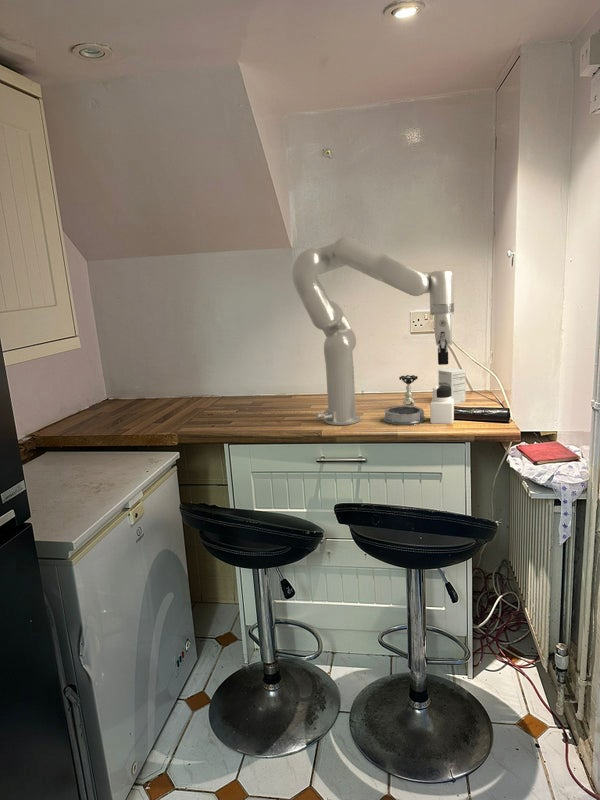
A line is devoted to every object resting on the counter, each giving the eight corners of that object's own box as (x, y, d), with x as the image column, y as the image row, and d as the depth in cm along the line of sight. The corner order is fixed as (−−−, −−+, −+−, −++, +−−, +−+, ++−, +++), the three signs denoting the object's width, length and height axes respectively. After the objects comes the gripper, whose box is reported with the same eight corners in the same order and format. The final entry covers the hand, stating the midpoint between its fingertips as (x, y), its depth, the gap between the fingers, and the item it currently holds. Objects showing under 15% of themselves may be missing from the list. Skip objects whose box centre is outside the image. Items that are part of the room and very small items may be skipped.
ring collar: (400, 427, 188) (399, 417, 188) (375, 419, 201) (375, 409, 200) (433, 420, 194) (433, 410, 194) (408, 413, 207) (407, 403, 206)
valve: (417, 405, 217) (416, 374, 214) (418, 410, 211) (418, 377, 208) (399, 406, 218) (398, 375, 215) (400, 410, 211) (399, 378, 209)
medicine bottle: (453, 418, 196) (453, 384, 193) (452, 424, 189) (452, 388, 187) (432, 418, 198) (432, 384, 195) (430, 423, 191) (430, 388, 189)
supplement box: (437, 402, 221) (437, 369, 218) (452, 399, 224) (452, 367, 221) (451, 405, 214) (451, 372, 212) (466, 402, 218) (466, 369, 215)
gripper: (454, 311, 176) (455, 366, 180) (453, 307, 193) (454, 357, 196) (429, 312, 178) (431, 366, 182) (430, 308, 195) (431, 358, 198)
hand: (443, 362), depth 189 cm, fingers open, 9 cm apart
